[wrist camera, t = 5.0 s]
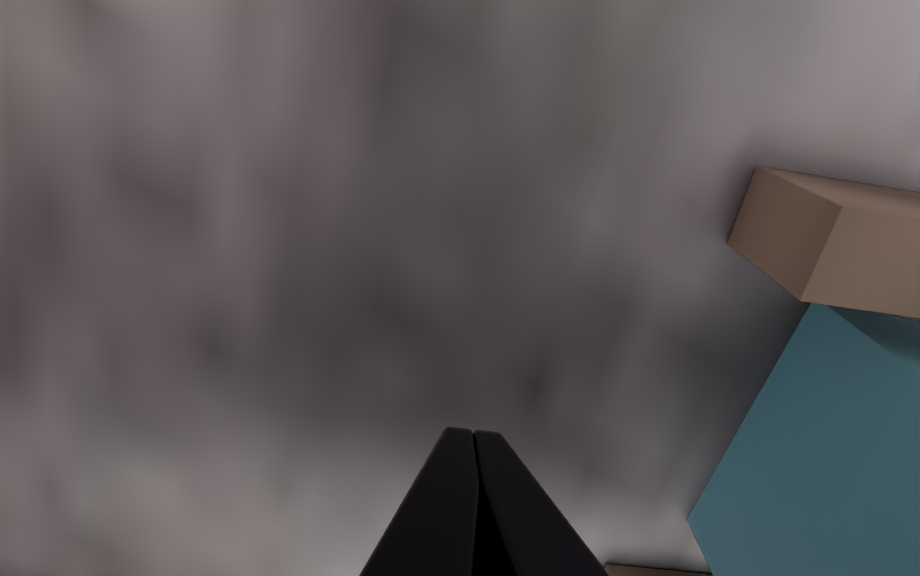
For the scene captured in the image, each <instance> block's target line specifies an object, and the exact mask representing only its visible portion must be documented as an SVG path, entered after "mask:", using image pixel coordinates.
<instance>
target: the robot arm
mask: <svg viewBox="0 0 920 576" xmlns="http://www.w3.org/2000/svg"><path fill="white" fill-rule="evenodd" d="M359 576H610V575H609V574H608V573H607V571H606V570H605V569H604V568H603V566H602V565H601V564H600V562H599V561H598V560H597V558H596V557H595V556H594V555H593V553H592V552H591V551H590V549H589V548H588V547H587V545H586V544H585V543H584V541H583V540H582V539H581V538H580V536H579V535H578V534H577V532H576V531H575V530H574V528H573V527H572V526H571V525H570V523H569V522H568V521H567V519H566V518H565V517H564V515H563V514H562V513H561V511H560V510H559V509H558V508H557V506H556V505H555V504H554V502H553V501H552V500H551V498H550V497H549V496H548V495H547V493H546V492H545V491H544V489H543V488H542V487H541V485H540V484H539V483H538V482H537V480H536V479H535V478H534V476H533V475H532V474H531V472H530V471H529V470H528V468H527V467H526V466H525V465H524V463H523V462H522V461H521V459H520V458H519V457H518V455H517V454H516V453H515V452H514V450H513V449H512V448H511V446H510V445H509V444H508V442H507V441H506V440H505V438H504V437H503V436H502V435H501V434H500V433H498V432H492V431H483V430H475V431H474V432H473V433H472V431H471V430H470V429H466V428H458V427H446V428H445V429H444V431H443V432H442V434H441V436H440V438H439V439H438V441H437V443H436V444H435V446H434V448H433V450H432V451H431V453H430V455H429V456H428V458H427V460H426V462H425V463H424V465H423V467H422V469H421V470H420V472H419V474H418V475H417V477H416V479H415V481H414V482H413V484H412V486H411V487H410V489H409V491H408V493H407V494H406V496H405V498H404V499H403V501H402V503H401V505H400V506H399V508H398V510H397V511H396V513H395V515H394V517H393V518H392V520H391V522H390V523H389V525H388V527H387V529H386V530H385V532H384V534H383V536H382V537H381V539H380V541H379V542H378V544H377V546H376V548H375V549H374V551H373V553H372V554H371V556H370V558H369V560H368V561H367V563H366V565H365V566H364V568H363V570H362V572H361V573H360V575H359Z"/></svg>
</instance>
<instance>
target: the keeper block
mask: <svg viewBox="0 0 920 576" xmlns="http://www.w3.org/2000/svg"><path fill="white" fill-rule="evenodd" d="M687 522H688V524H689V526H690V528H691V530H692V532H693V534H694V537H695V539H696V541H697V543H698V545H699V547H700V549H701V551H702V553H703V555H704V557H705V559H706V561H707V564H708V566H709V568H710V570H711V572H712V574H713V576H920V323H919V322H915V321H911V320H907V319H903V318H899V317H895V316H891V315H887V314H883V313H879V312H873V311H866V310H859V309H852V308H845V307H838V306H831V305H824V304H817V303H811V304H810V305H809V307H808V309H807V311H806V312H805V314H804V316H803V318H802V319H801V321H800V323H799V325H798V326H797V328H796V330H795V332H794V333H793V335H792V337H791V338H790V340H789V342H788V344H787V345H786V347H785V349H784V351H783V352H782V354H781V356H780V358H779V359H778V361H777V363H776V365H775V366H774V368H773V370H772V372H771V373H770V375H769V377H768V379H767V380H766V382H765V384H764V386H763V387H762V389H761V391H760V392H759V394H758V396H757V398H756V399H755V401H754V403H753V405H752V406H751V408H750V410H749V412H748V413H747V415H746V417H745V419H744V420H743V422H742V424H741V426H740V427H739V429H738V431H737V433H736V434H735V436H734V438H733V440H732V441H731V443H730V445H729V446H728V448H727V450H726V452H725V453H724V455H723V457H722V459H721V460H720V462H719V464H718V466H717V467H716V469H715V471H714V473H713V474H712V476H711V478H710V480H709V481H708V483H707V485H706V487H705V488H704V490H703V492H702V494H701V495H700V497H699V499H698V500H697V502H696V504H695V506H694V507H693V509H692V511H691V513H690V514H689V516H688V518H687Z"/></svg>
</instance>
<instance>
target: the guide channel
mask: <svg viewBox="0 0 920 576" xmlns="http://www.w3.org/2000/svg"><path fill="white" fill-rule="evenodd" d="M727 243H728V244H729V245H730V246H731V247H733V248H734V249H735V250H736V251H738V252H739V253H740V254H741V255H743V256H744V257H745V258H746V259H748V260H749V261H750V262H751V263H753V264H754V265H755V266H756V267H758V268H759V269H760V270H761V271H763V272H764V273H765V274H767V275H768V276H769V277H770V278H772V279H773V280H774V281H775V282H777V283H778V284H779V285H780V286H782V287H783V288H784V289H785V290H787V291H788V292H789V293H790V294H792V295H793V296H794V297H795V298H797V299H798V300H799V301H803V302H810V303H817V304H824V305H831V306H838V307H845V308H852V309H859V310H866V311H873V312H880V313H887V314H894V315H901V316H908V317H915V318H920V193H919V192H913V191H907V190H901V189H895V188H888V187H882V186H876V185H870V184H864V183H858V182H852V181H846V180H840V179H834V178H827V177H821V176H815V175H809V174H803V173H797V172H791V171H785V170H779V169H773V168H766V167H760V166H756V168H755V171H754V174H753V176H752V179H751V181H750V184H749V187H748V189H747V192H746V195H745V197H744V200H743V203H742V205H741V208H740V211H739V213H738V216H737V219H736V221H735V224H734V227H733V229H732V232H731V234H730V237H729V240H728V242H727ZM604 569H605V570H606V571H607V573H608V574H609V575H610V576H713V575H712V574H702V573H692V572H682V571H671V570H661V569H651V568H641V567H631V566H620V565H610V564H606V566H605V568H604Z"/></svg>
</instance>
